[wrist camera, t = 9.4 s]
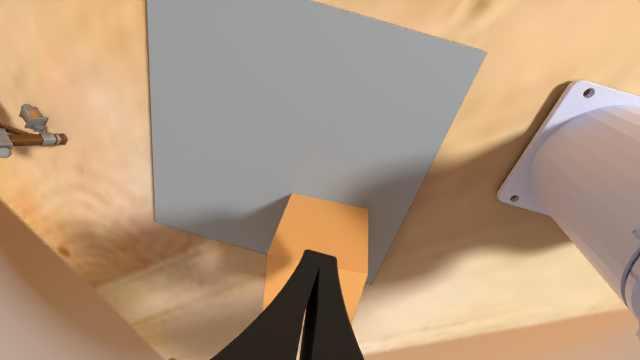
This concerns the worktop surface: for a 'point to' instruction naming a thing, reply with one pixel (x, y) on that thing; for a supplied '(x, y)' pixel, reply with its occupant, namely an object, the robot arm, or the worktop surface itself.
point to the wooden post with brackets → (3, 143)
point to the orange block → (320, 245)
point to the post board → (294, 114)
